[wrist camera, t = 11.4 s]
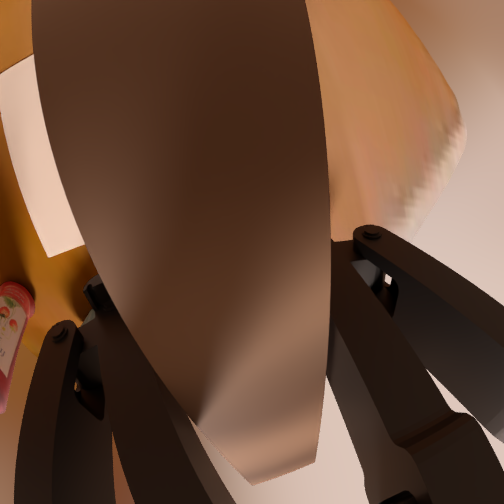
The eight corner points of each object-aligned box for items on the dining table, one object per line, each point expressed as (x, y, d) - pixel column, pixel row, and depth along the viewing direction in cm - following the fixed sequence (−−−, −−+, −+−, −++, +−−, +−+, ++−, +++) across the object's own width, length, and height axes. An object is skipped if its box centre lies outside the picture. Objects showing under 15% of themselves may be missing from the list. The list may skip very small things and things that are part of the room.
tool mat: (-3, 77, 17) (-4, 76, 17) (62, 40, 19) (62, 40, 19) (49, 256, 31) (48, 257, 30) (111, 234, 32) (110, 235, 32)
